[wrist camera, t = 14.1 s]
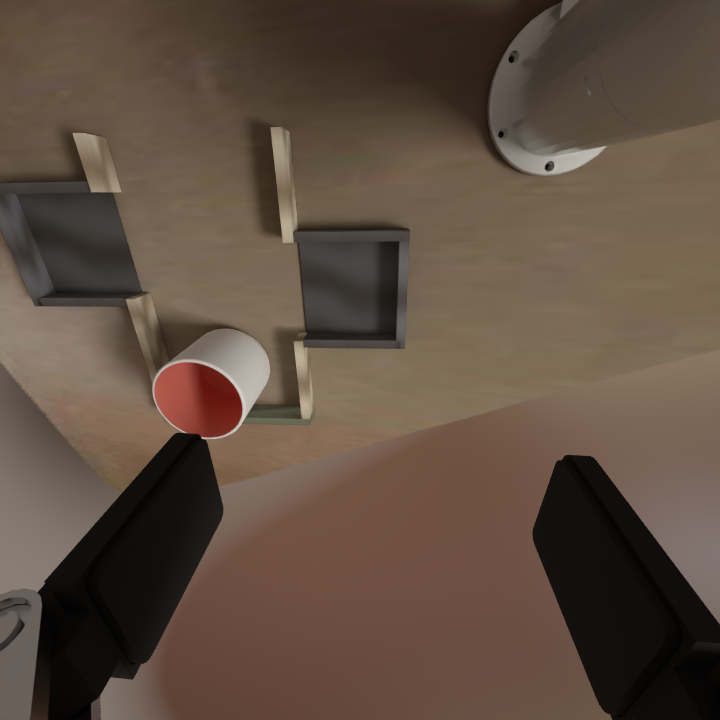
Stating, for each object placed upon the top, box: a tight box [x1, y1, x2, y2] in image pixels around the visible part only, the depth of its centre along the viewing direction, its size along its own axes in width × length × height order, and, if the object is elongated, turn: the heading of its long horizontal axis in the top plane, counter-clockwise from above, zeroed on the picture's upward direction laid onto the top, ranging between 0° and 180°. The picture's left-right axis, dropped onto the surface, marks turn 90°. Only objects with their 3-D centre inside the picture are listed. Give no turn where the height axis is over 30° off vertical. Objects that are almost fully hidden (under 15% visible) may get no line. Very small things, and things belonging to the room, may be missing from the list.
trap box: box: [0, 127, 410, 425], centre depth 40 cm, size 33×44×3 cm
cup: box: [152, 329, 270, 439], centre depth 41 cm, size 10×10×10 cm
